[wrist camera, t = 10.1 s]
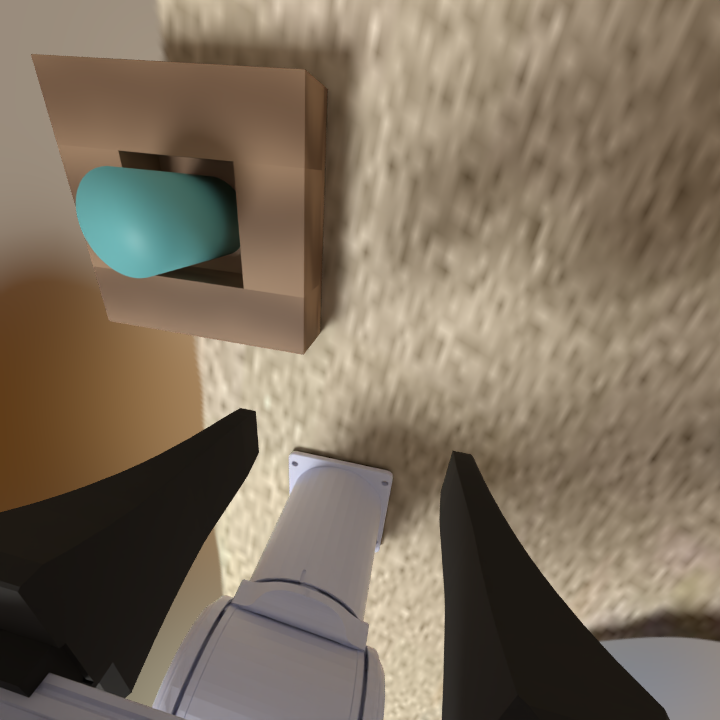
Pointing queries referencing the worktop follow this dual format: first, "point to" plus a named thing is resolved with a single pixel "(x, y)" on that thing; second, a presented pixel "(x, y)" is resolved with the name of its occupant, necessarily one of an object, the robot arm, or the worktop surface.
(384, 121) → the worktop surface
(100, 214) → the teal pin
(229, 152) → the socket block
